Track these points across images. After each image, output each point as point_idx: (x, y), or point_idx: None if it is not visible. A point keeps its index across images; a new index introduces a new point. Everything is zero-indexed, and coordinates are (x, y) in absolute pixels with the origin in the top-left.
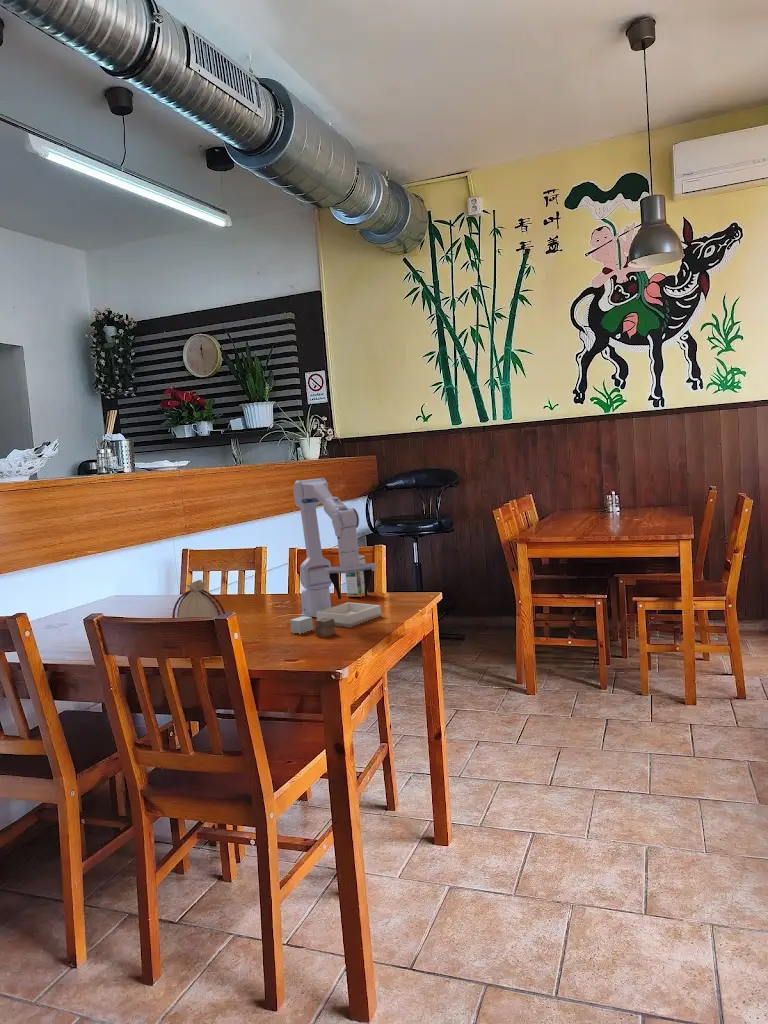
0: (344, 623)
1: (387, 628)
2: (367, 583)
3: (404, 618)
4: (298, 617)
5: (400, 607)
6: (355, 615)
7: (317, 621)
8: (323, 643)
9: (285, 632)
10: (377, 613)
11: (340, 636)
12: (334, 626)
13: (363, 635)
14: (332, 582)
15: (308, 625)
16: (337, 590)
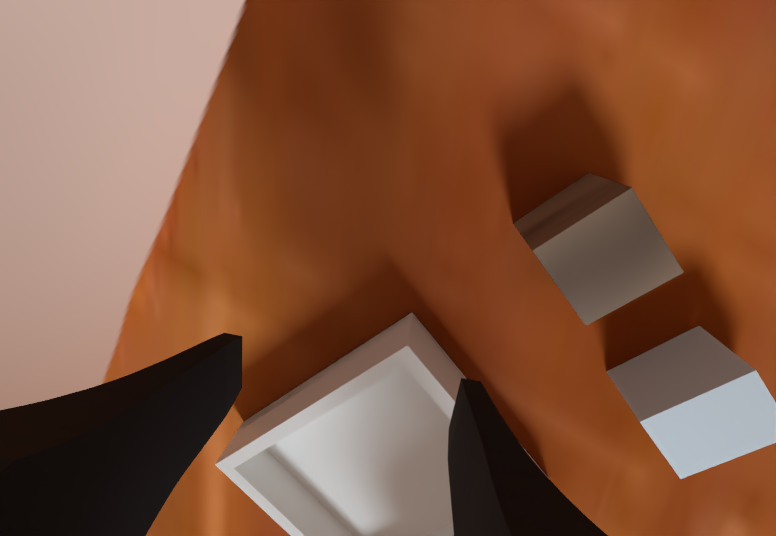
0: (434, 349)
1: (222, 177)
2: (114, 387)
3: (138, 330)
4: (716, 463)
5: (160, 511)
6: (364, 367)
7: (665, 242)
8: (647, 5)
9: None
10: (250, 425)
11: (499, 140)
12: (523, 234)
13: (366, 85)
14: (601, 530)
15: (650, 377)
16: (502, 431)
